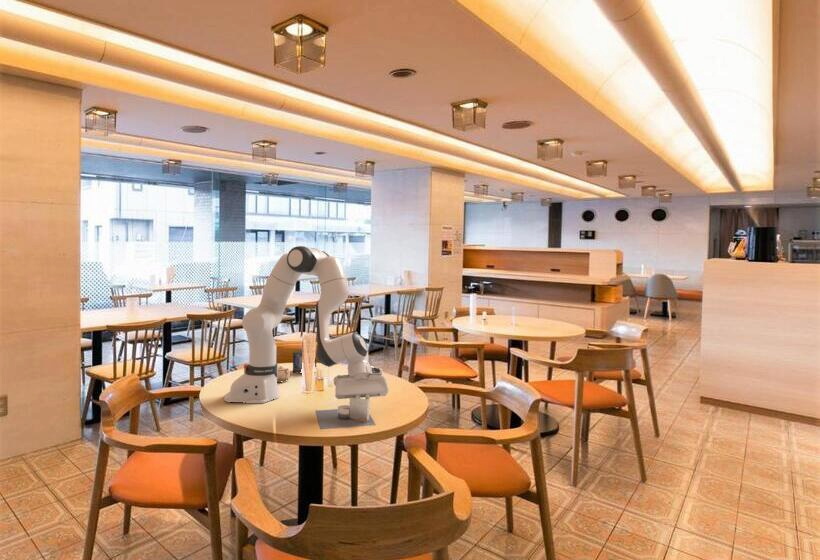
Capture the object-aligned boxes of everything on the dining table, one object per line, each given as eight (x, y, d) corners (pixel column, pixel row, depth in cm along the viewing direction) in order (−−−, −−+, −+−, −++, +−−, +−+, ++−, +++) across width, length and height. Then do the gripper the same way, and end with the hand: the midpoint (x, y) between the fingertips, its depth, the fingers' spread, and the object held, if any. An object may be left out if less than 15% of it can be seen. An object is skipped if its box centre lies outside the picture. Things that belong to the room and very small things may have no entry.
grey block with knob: (335, 417, 188) (335, 397, 187) (342, 413, 193) (342, 394, 192) (364, 423, 183) (365, 402, 182) (371, 418, 188) (371, 398, 187)
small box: (291, 372, 255) (292, 352, 255) (299, 369, 262) (299, 349, 261) (310, 375, 252) (310, 354, 251) (316, 372, 258) (317, 351, 257)
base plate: (320, 431, 177) (320, 428, 177) (315, 413, 196) (315, 409, 196) (376, 427, 182) (376, 424, 182) (365, 409, 202) (365, 406, 202)
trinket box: (292, 382, 238) (292, 366, 238) (260, 386, 230) (260, 369, 230) (283, 375, 250) (283, 360, 249) (252, 379, 242) (253, 363, 241)
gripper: (333, 371, 191) (337, 405, 183) (386, 369, 197) (391, 401, 189) (332, 379, 196) (335, 412, 188) (383, 376, 202) (388, 409, 193)
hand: (363, 407), depth 188 cm, fingers closed
